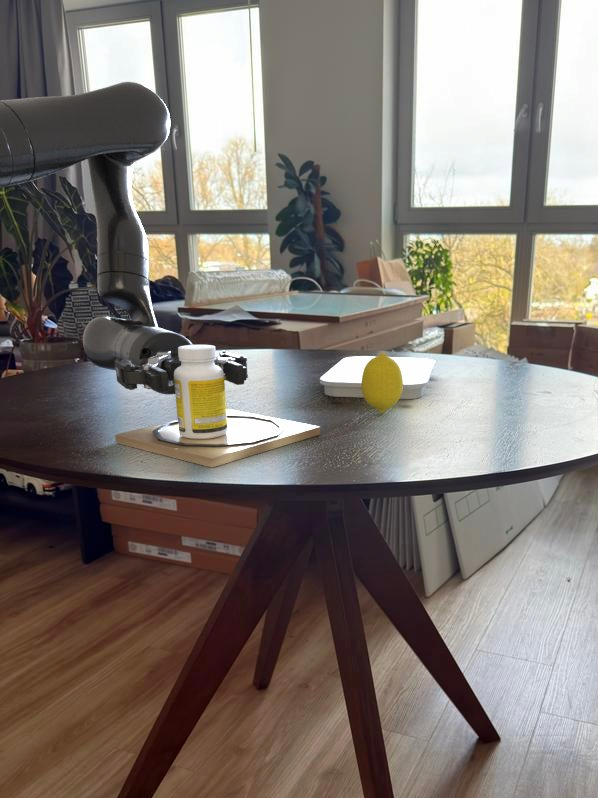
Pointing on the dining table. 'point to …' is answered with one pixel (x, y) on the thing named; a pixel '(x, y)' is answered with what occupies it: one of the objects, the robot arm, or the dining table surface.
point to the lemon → (382, 382)
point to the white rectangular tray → (350, 369)
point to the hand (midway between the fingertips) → (204, 378)
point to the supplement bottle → (200, 393)
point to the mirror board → (220, 439)
